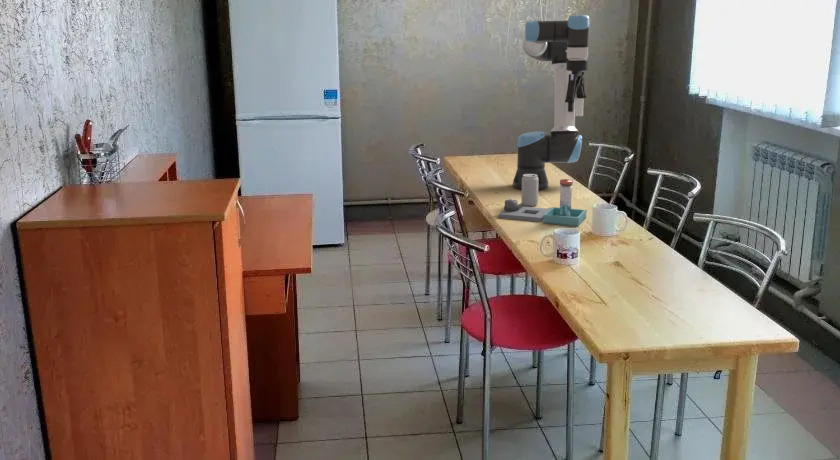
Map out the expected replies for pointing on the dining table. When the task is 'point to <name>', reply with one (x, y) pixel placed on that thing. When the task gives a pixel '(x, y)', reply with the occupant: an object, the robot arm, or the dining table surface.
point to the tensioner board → (522, 212)
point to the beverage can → (529, 190)
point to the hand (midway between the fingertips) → (574, 118)
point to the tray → (564, 217)
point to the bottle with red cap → (565, 197)
